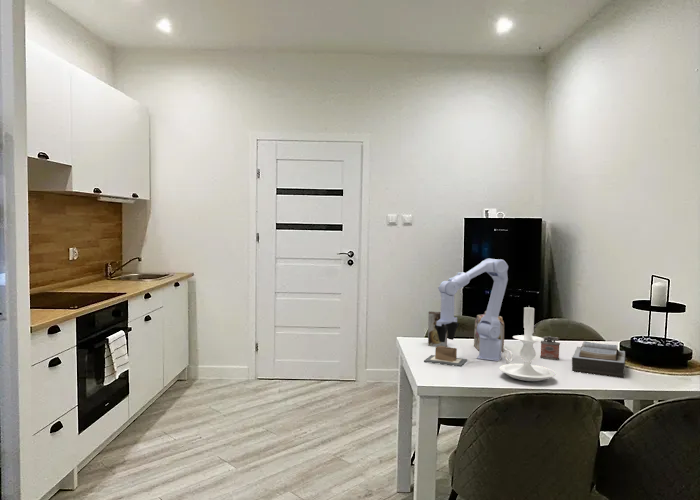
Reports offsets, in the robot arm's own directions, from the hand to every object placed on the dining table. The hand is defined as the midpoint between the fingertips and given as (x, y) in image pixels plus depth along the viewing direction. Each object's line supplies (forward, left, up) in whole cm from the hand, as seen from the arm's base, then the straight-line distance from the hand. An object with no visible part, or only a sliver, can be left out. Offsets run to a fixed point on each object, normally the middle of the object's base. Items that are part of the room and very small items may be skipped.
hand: (446, 340), depth 232 cm
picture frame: (0, 0, -9) cm, 9 cm away
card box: (0, 0, -8) cm, 8 cm away
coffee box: (+12, -31, -9) cm, 34 cm away
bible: (-60, -20, -10) cm, 64 cm away
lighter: (-40, -28, -9) cm, 50 cm away
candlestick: (-33, +10, -9) cm, 36 cm away
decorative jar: (-12, -35, -9) cm, 38 cm away
